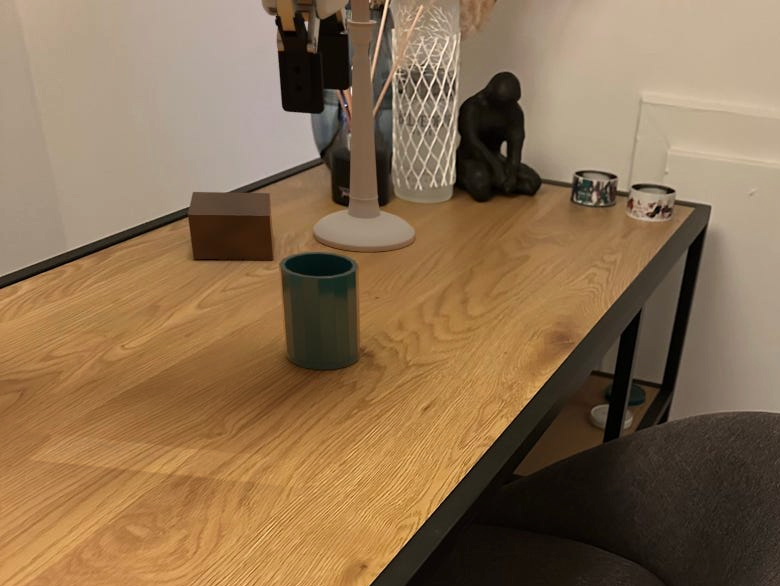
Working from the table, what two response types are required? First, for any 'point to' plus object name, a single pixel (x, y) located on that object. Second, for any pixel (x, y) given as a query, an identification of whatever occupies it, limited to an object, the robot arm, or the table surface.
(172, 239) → the table surface
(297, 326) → the cup
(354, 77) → the candlestick
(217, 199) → the block
